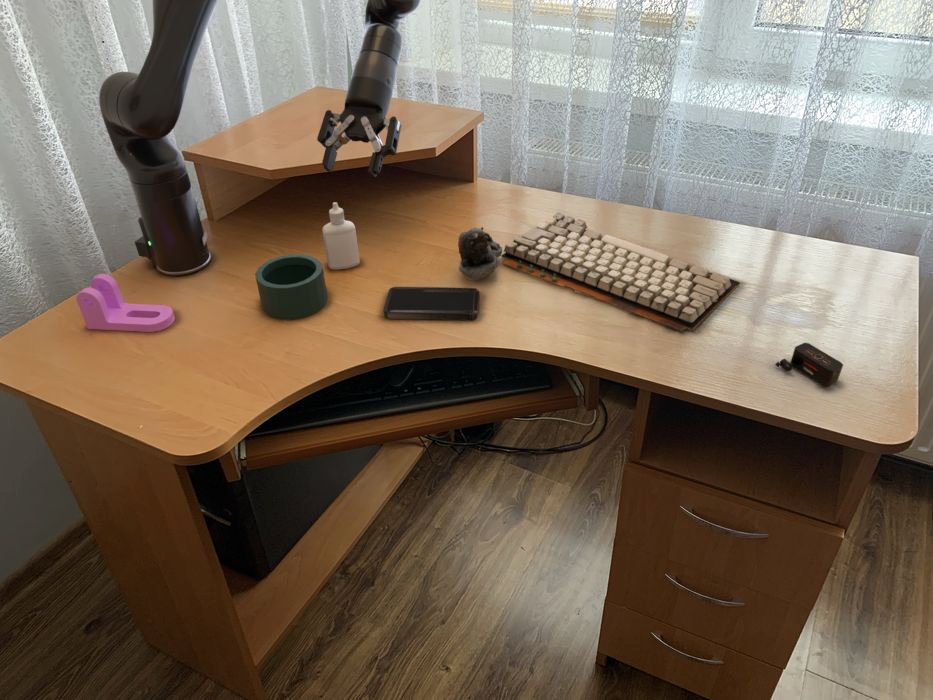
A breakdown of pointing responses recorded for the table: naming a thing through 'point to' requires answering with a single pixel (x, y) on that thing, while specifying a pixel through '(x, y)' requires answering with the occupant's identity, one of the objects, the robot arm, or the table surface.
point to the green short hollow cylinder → (291, 286)
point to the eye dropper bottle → (340, 241)
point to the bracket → (119, 309)
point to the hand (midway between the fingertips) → (349, 172)
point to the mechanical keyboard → (619, 272)
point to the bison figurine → (477, 253)
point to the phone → (432, 303)
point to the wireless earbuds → (813, 364)
